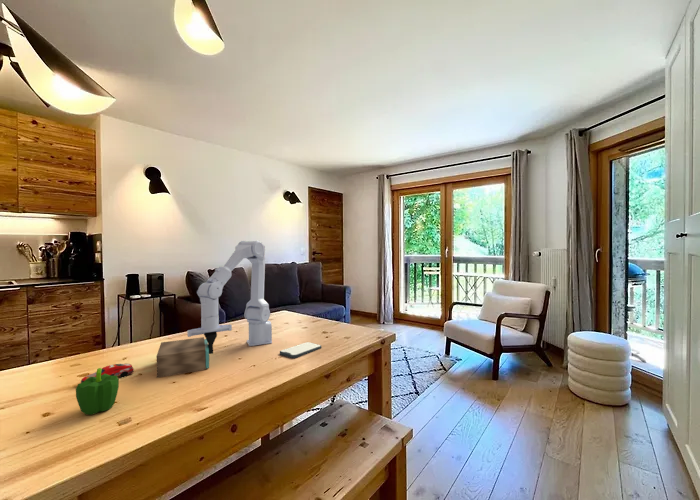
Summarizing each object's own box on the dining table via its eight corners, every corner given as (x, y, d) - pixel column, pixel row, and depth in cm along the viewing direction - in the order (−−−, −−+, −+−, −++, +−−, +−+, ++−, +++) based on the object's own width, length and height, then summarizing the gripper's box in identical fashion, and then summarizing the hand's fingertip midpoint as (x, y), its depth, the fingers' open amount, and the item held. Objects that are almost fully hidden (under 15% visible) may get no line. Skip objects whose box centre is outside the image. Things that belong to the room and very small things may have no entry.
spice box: (204, 354, 118) (203, 337, 118) (205, 369, 104) (205, 349, 104) (161, 361, 112) (161, 342, 112) (156, 377, 98) (156, 356, 98)
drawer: (207, 353, 119) (207, 338, 119) (209, 368, 105) (208, 351, 104) (165, 359, 113) (165, 344, 113) (161, 375, 98) (161, 358, 98)
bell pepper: (108, 416, 75) (107, 375, 75) (68, 420, 73) (68, 378, 73) (125, 400, 83) (125, 363, 83) (90, 403, 82) (90, 365, 82)
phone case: (307, 345, 132) (278, 355, 119) (307, 341, 132) (278, 351, 119) (323, 349, 126) (293, 360, 113) (323, 345, 126) (294, 355, 113)
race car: (82, 390, 90) (82, 376, 90) (78, 385, 93) (78, 371, 93) (135, 374, 100) (135, 362, 100) (129, 370, 104) (129, 359, 104)
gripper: (228, 311, 119) (229, 346, 119) (186, 316, 111) (186, 353, 111) (232, 314, 113) (233, 351, 113) (188, 319, 105) (188, 359, 105)
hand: (210, 353), depth 112 cm, fingers closed, pressing on drawer
